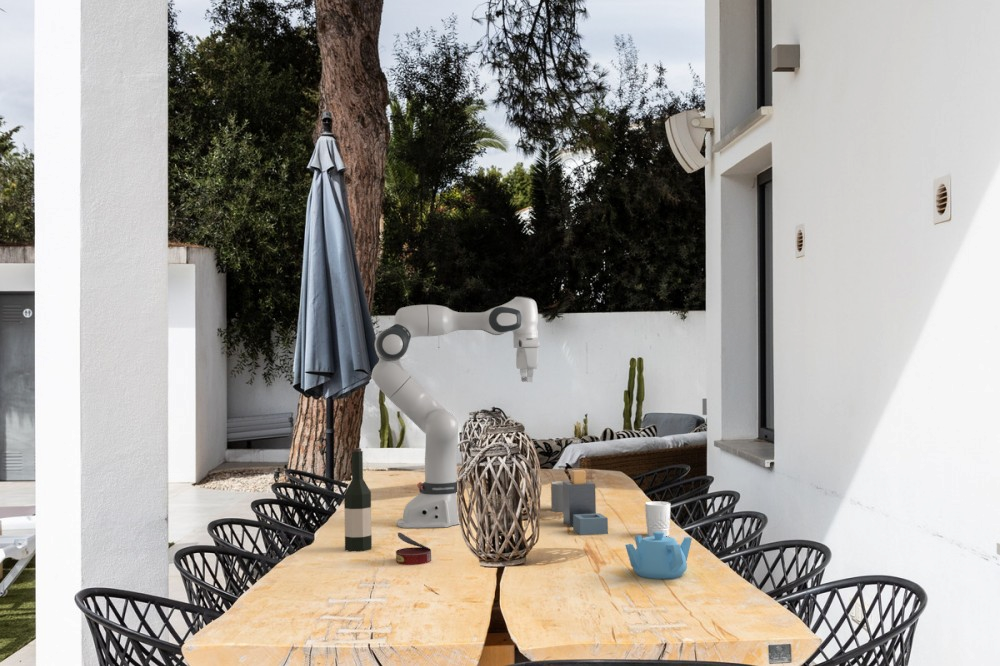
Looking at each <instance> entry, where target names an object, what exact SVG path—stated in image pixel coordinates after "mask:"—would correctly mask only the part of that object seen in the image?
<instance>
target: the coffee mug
mask: <svg viewBox="0 0 1000 666" xmlns="http://www.w3.org/2000/svg"><path fill="white" fill-rule="evenodd" d="M563 481H564V480H559V481H552V482H551V483H550V488H551V489H550V497H551V498H550V501H551V503H550V504H551V511H552V512H555V513H563Z"/></svg>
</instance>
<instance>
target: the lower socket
mask: <svg viewBox="0 0 1000 666" xmlns="http://www.w3.org/2000/svg"><path fill="white" fill-rule="evenodd" d="M608 523H609V521H608V517H607V516H605V515H603V514H601V512H600V513H597V512H596V514H576V515H573V527H572V528H573V532H575V533H577V534H578V535H580V536H587V535H588V536H591V535H608V534H609V526H608V525H609V524H608Z"/></svg>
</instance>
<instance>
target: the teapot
mask: <svg viewBox="0 0 1000 666" xmlns="http://www.w3.org/2000/svg"><path fill="white" fill-rule="evenodd" d="M653 535H654V536H645V537H643V536H642V535H634V541H635V545H636V548H635V546H634V544H632V543H627V544H625V549H626V552H627V556H628V558H629V559H628V560H629V562H630V566H631V568H632V570H633V571H634V572H635V574H636V575H637V576H639V577H642V578H645V579H652V580H653V579H654V580H669V579H676V578H680V577H682V575H683V574H685V572H686V571H687V568H688V566H687V564H688V563H687V561H688V557H689V553H690V548H691V544H692V540H693V538H692V537H690V536H686V537H684V538H683V540H682V542H681V544H679V543H678V542H677V540H676V539H675V538H673V537H672V536H670V537H669V536H667V537H666V536H664V532H653Z"/></svg>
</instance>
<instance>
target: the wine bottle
mask: <svg viewBox="0 0 1000 666" xmlns="http://www.w3.org/2000/svg"><path fill="white" fill-rule="evenodd" d="M363 453H364V451H363V450H362V448H361V447H357V448H356V447H355V448H352V451H351V481H350V482H349V485H348V487H347V488H346V490H345V493H344V495H343V496H344V498H343V499H344V551H346V550H348V551H347V552H351V551H356V552H366V551H370V550H372V548H373V547H372V545H373V544H372V543H373V542H372V541H373V540H372V491H371V489H370V488H369V486H368V485H367V483H366V482H365V480H364V473H363V472H364V470H363V469H364V466H363V465H364V464H363V463H364V461H363V459H364V458H363V455H364V454H363Z"/></svg>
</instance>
